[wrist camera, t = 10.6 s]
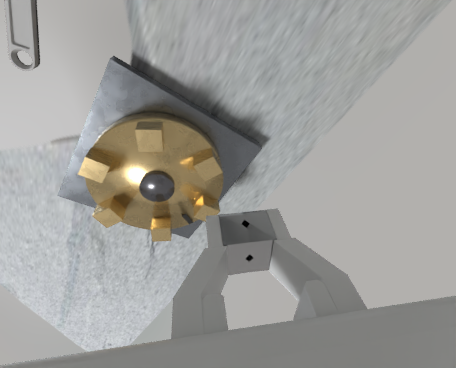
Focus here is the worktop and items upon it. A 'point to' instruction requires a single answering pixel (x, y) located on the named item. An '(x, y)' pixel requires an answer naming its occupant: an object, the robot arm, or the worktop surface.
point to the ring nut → (153, 174)
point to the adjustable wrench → (22, 31)
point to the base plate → (152, 103)
